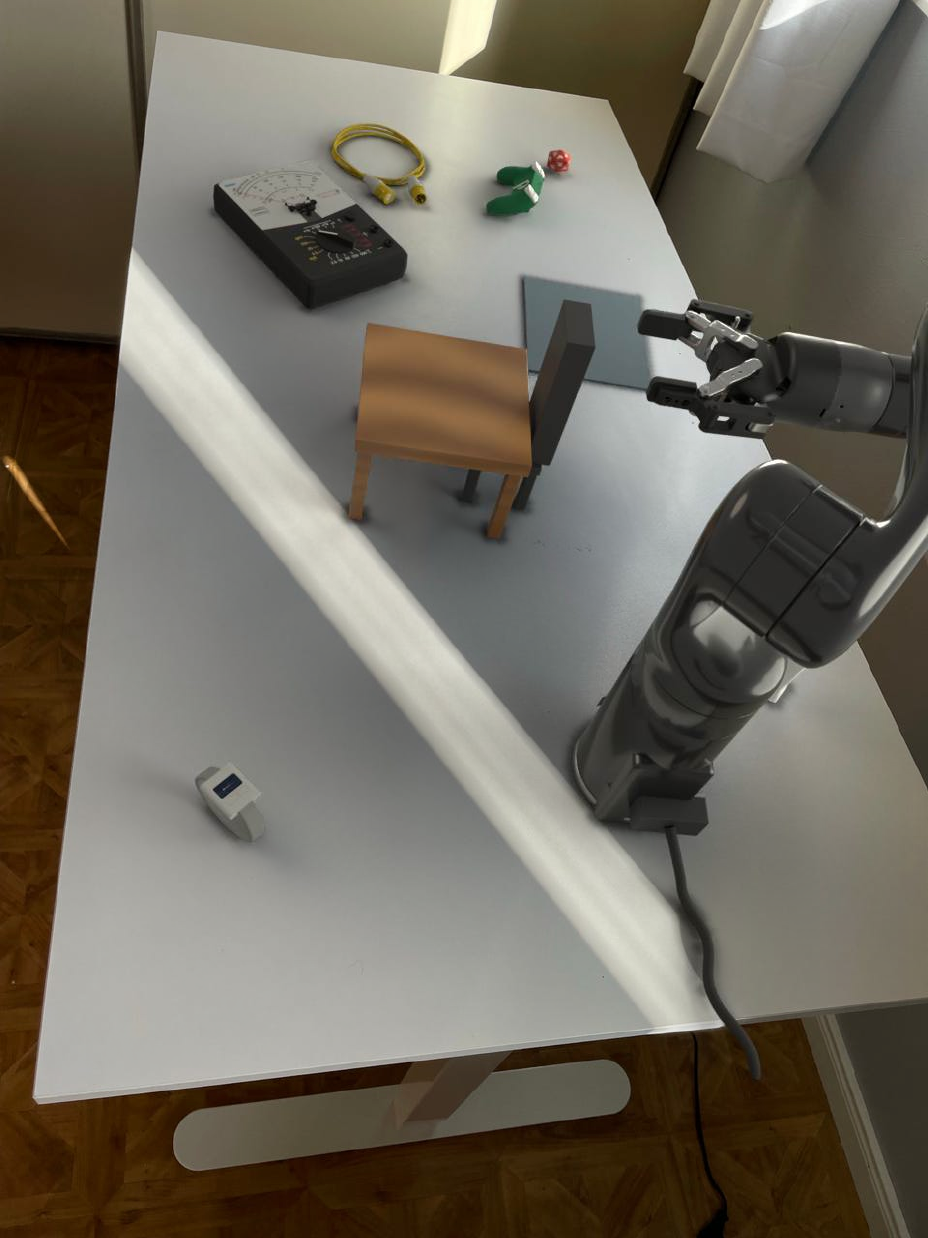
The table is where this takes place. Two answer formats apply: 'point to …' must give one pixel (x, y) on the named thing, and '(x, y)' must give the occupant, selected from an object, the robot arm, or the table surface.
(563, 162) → the die
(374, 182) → the extension cord
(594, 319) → the mat
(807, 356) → the robot arm
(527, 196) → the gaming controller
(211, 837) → the table surface
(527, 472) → the side table
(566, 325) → the chair
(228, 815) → the wristwatch
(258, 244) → the multimeter
